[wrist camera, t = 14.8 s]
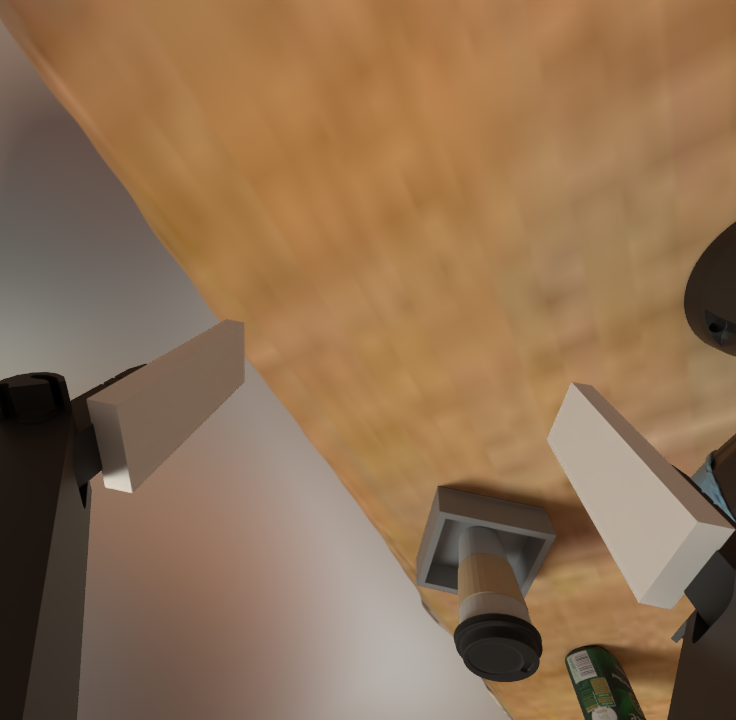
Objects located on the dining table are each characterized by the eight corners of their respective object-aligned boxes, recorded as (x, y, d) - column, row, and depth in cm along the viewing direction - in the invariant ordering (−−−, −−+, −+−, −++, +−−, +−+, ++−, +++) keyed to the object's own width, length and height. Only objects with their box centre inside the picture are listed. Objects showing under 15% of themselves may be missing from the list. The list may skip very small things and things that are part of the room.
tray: (544, 508, 49) (556, 535, 44) (511, 578, 55) (519, 608, 51) (437, 486, 50) (439, 511, 45) (416, 557, 56) (416, 585, 51)
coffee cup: (517, 559, 52) (553, 685, 38) (453, 566, 54) (465, 687, 40) (506, 512, 48) (541, 630, 35) (438, 521, 51) (446, 635, 37)
